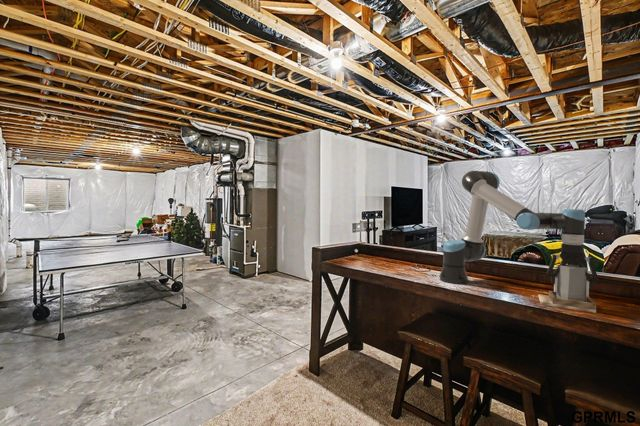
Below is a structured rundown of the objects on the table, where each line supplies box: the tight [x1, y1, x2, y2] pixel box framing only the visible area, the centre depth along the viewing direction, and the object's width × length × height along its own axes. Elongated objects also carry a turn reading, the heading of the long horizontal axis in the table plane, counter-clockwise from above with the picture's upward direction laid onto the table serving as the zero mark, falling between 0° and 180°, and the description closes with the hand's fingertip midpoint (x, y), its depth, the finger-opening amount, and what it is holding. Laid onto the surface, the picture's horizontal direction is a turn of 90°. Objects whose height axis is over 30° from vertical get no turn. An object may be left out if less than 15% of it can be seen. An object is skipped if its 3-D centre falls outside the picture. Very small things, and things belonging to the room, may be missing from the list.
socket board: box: [537, 290, 597, 314], centre depth 128 cm, size 18×13×4 cm
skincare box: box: [556, 264, 588, 302], centre depth 127 cm, size 8×7×16 cm
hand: (570, 293), depth 127 cm, fingers closed on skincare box, 10 cm apart
